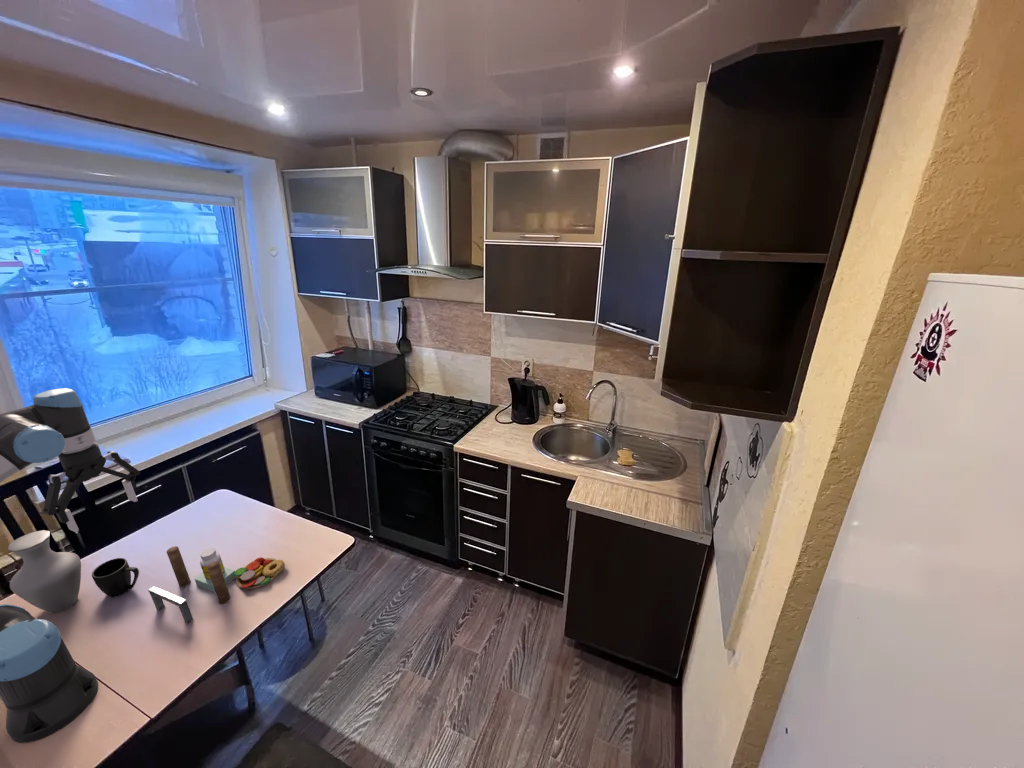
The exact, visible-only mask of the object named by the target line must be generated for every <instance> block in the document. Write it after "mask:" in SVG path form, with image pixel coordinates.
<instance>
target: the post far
mask: <svg viewBox="0 0 1024 768" xmlns="http://www.w3.org/2000/svg"><path fill="white" fill-rule="evenodd" d="M166 555H167V557H168V560H169V562H170V563H169V564H170V565H171V568H172V571H173V573H174V576H175V578H176V581H177V583H178V587H179V588H185V587H187V586H189V585H190V584H191V583H192V581H191V579H190V576H189V572H188V570H187V567H186V565H185V562H184V559H183V556H182V554H181V550H180V547H178V546H172V547H170V548H168V549H167V550H166Z"/></svg>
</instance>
